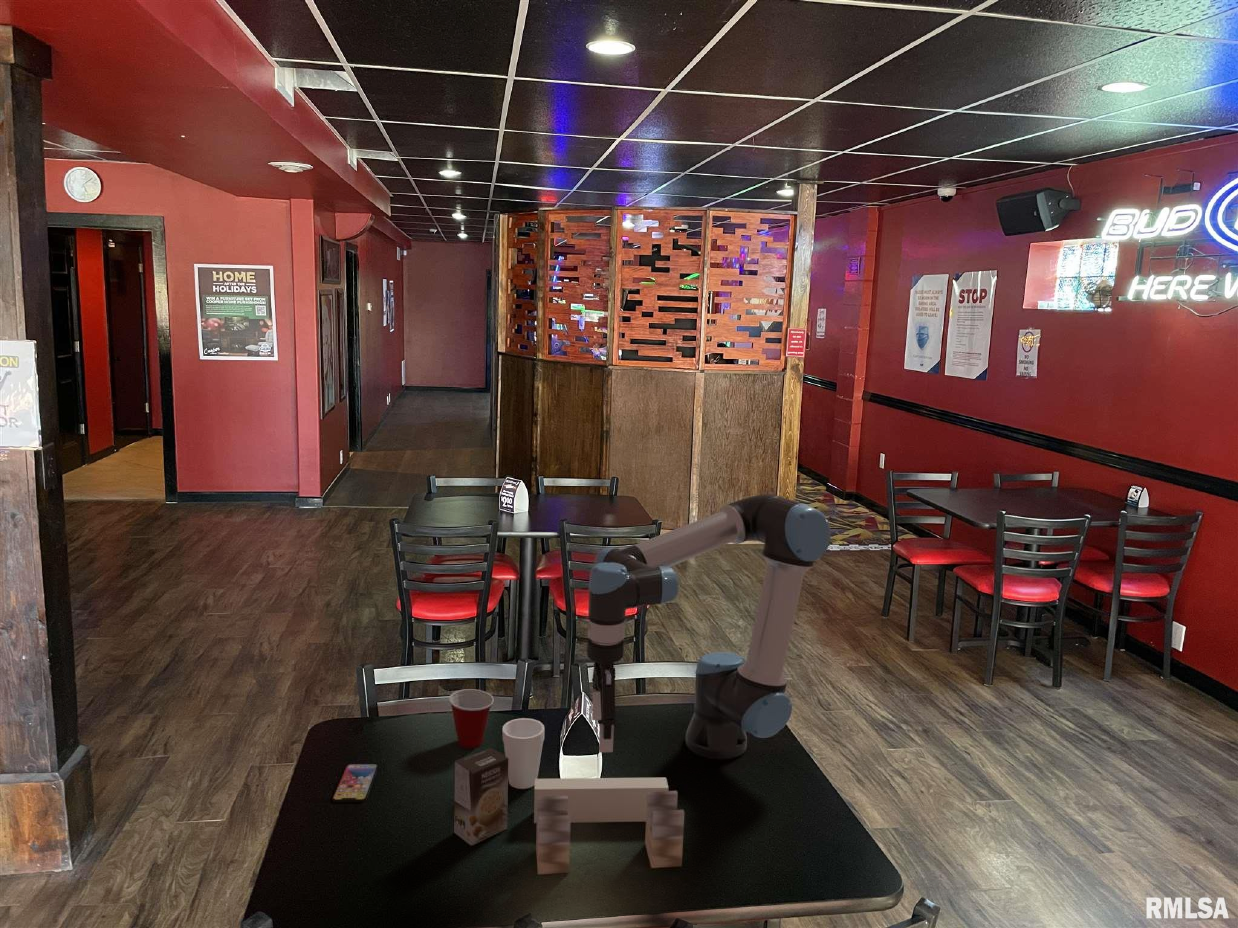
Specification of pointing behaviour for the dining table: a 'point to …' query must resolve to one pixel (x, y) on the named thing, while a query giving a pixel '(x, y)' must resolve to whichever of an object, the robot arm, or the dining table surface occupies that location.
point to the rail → (601, 797)
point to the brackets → (659, 837)
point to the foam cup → (523, 750)
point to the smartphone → (355, 783)
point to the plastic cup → (470, 715)
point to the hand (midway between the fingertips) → (602, 734)
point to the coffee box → (481, 795)
